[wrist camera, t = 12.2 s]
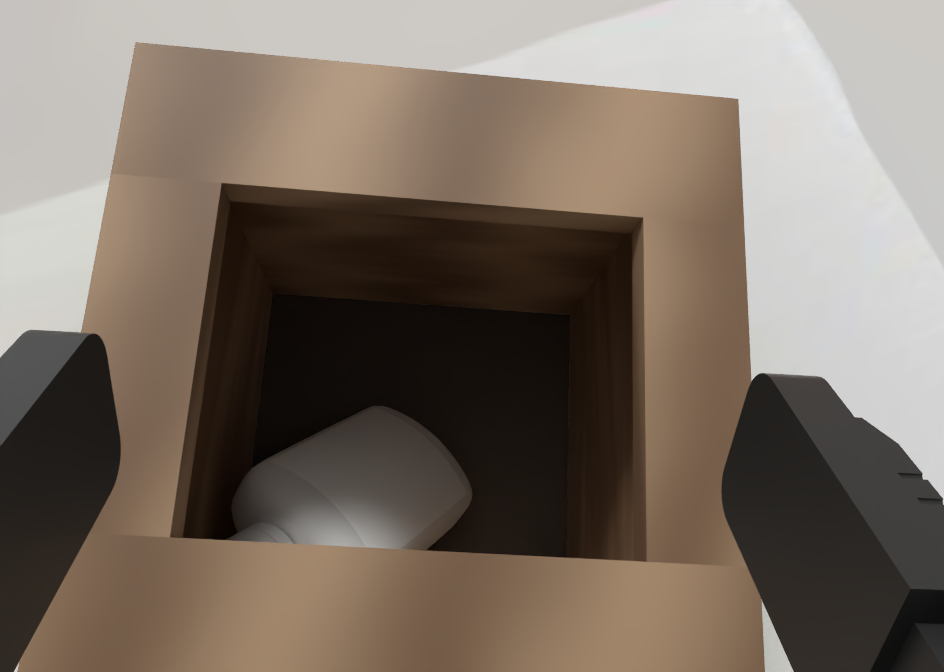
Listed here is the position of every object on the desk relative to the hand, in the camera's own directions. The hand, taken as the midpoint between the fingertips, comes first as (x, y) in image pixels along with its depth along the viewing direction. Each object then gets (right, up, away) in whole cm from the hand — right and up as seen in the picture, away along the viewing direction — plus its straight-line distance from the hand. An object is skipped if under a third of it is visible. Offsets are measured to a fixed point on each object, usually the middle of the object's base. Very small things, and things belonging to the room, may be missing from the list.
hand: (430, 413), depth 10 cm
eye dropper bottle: (-2, -4, +22) cm, 23 cm away
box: (-2, -4, +23) cm, 24 cm away
